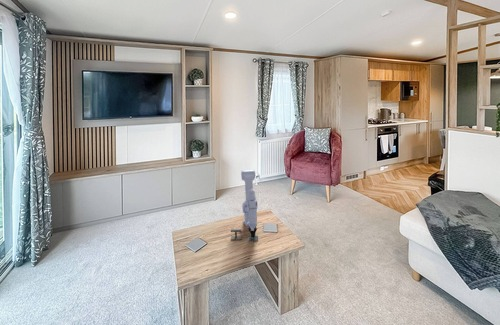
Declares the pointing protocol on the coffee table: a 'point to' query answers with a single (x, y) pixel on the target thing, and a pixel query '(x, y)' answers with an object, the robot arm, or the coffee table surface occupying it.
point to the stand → (236, 237)
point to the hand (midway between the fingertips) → (253, 235)
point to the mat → (253, 238)
